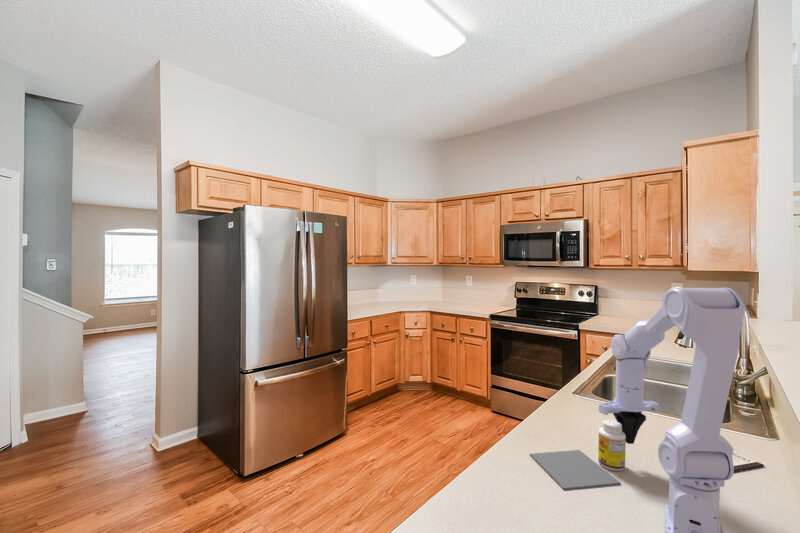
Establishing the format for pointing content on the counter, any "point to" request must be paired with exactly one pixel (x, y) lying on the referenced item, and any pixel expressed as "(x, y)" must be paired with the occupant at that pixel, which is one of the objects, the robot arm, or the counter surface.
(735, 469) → the chocolate bar
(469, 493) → the counter surface
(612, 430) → the supplement bottle
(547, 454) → the mat
